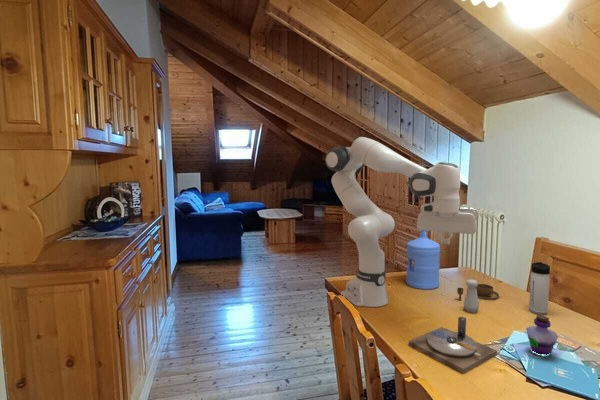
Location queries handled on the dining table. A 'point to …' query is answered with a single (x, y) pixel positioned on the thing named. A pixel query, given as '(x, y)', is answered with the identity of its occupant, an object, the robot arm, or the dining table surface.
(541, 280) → the travel mug
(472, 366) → the stand
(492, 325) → the dining table surface
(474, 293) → the salt shaker
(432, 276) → the water jug
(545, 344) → the potion bottle
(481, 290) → the brown cup and saucer
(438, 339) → the dial
